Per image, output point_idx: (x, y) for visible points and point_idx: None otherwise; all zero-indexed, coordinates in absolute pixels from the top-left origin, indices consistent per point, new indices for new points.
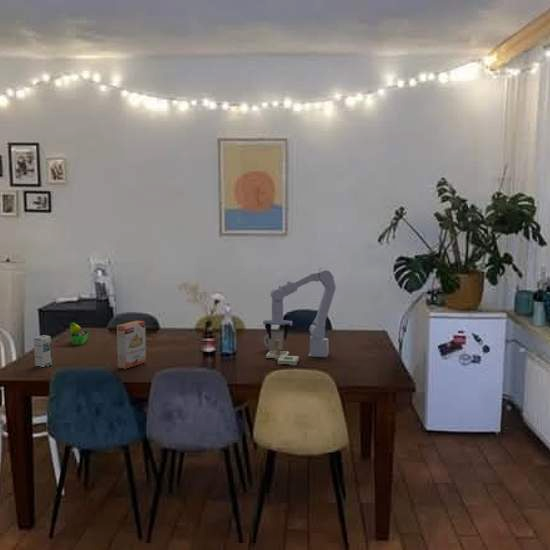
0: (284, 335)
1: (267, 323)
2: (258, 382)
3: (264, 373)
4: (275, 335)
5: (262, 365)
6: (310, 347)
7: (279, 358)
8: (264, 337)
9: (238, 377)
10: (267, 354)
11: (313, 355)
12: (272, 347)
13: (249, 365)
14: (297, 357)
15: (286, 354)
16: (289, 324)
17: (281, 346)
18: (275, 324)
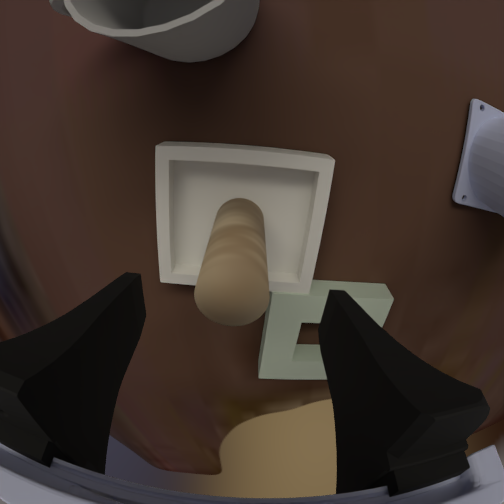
0: (329, 378)
1: (23, 464)
2: (221, 471)
3: (221, 437)
4: (159, 32)
5: (184, 375)
6: (499, 192)
7: (267, 351)
8: (50, 1)
9: (153, 450)
10: (164, 263)
11: (478, 201)
12: (165, 56)
13: (127, 372)
14: (380, 321)
15: (313, 252)
16: (443, 486)
17: (252, 19)
18: (171, 501)
